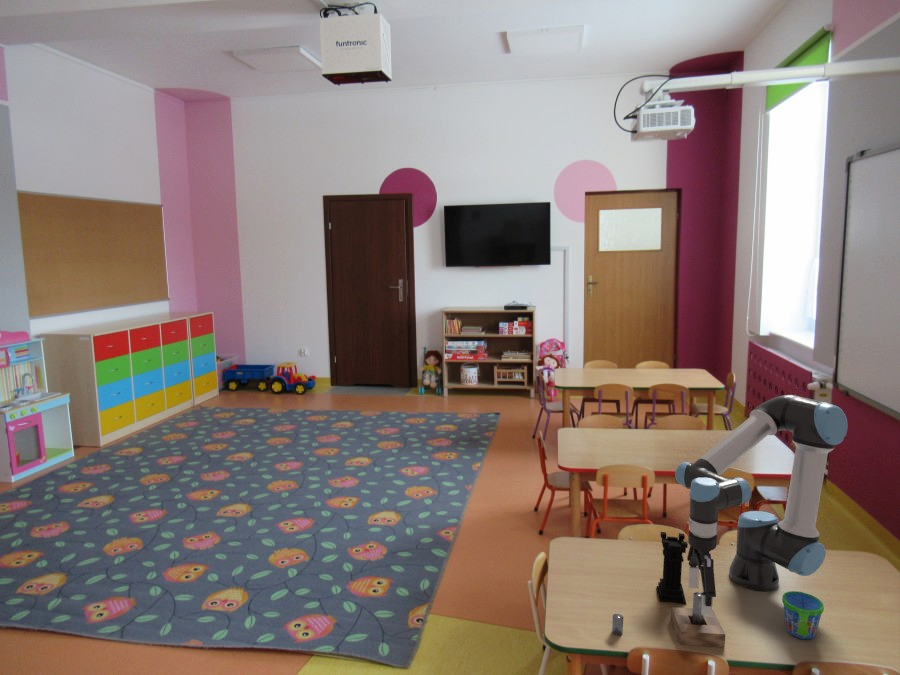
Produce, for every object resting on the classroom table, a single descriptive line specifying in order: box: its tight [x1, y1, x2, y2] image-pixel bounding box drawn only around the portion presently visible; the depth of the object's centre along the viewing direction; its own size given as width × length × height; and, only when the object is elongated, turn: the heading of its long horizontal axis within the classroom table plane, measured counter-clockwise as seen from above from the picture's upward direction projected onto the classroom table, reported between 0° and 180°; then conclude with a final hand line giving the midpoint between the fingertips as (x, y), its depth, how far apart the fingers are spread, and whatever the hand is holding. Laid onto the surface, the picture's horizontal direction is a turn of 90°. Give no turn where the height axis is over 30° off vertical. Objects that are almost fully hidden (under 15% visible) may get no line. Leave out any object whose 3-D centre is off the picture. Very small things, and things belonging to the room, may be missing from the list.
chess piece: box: [656, 531, 689, 605], centre depth 202 cm, size 8×8×20 cm
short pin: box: [611, 613, 624, 637], centre depth 185 cm, size 3×3×5 cm
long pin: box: [692, 591, 703, 625], centre depth 184 cm, size 3×3×12 cm
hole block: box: [670, 607, 726, 648], centre depth 185 cm, size 12×12×4 cm
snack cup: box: [781, 590, 825, 640], centre depth 184 cm, size 16×11×10 cm
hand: (699, 600), depth 184 cm, fingers open, 13 cm apart
